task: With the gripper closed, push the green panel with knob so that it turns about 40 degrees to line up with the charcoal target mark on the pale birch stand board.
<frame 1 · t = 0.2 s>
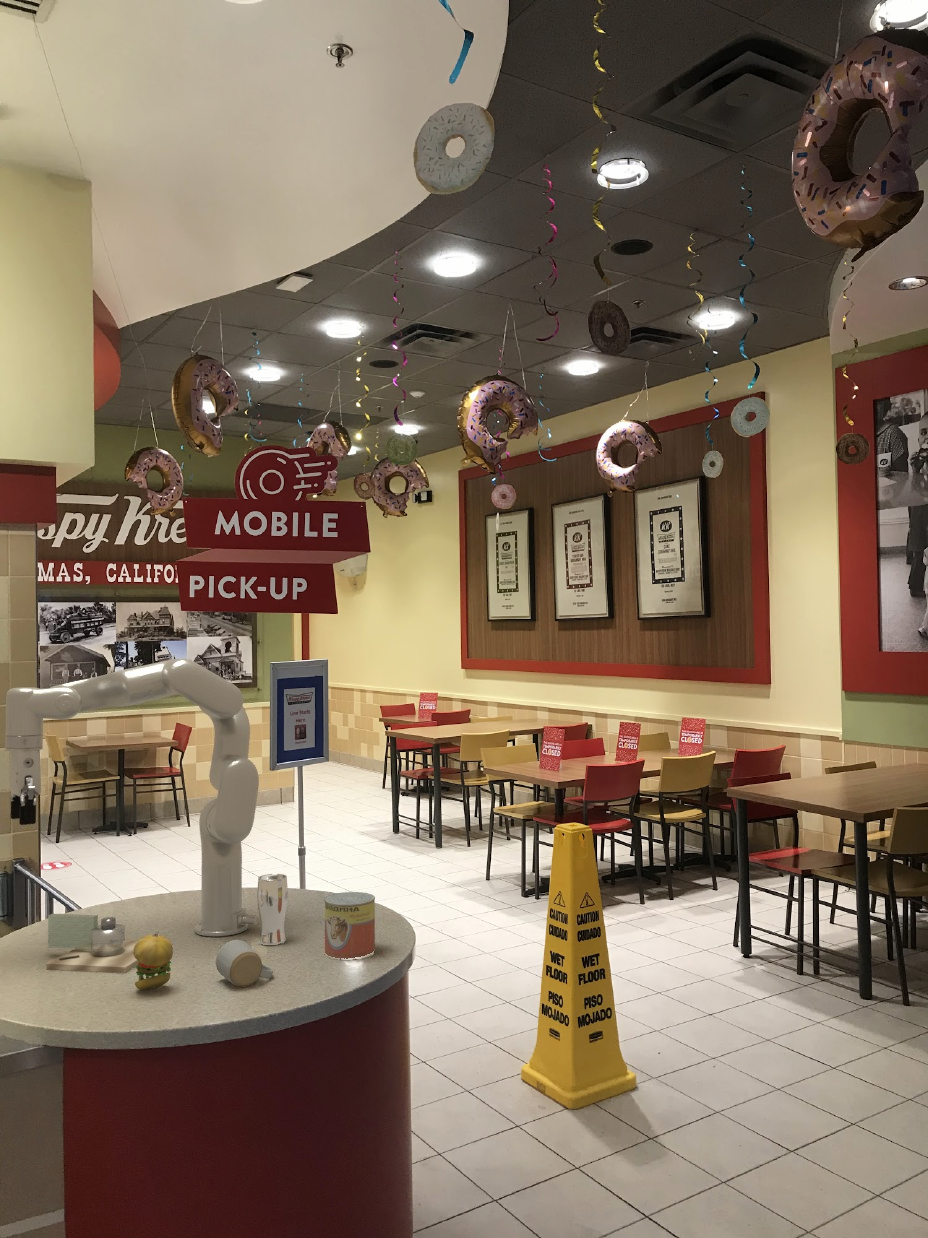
hand: (22, 821, 209), 30 cm above the table, tool pointing down, fingers open, 9 cm apart
ceramic mug: (245, 982, 194), on the table
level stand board: (108, 958, 209), on the table
green panel with knob: (86, 933, 210), point 5 cm above the table, hinge at 0.0°
canned food: (349, 953, 212), on the table
beer glass: (272, 943, 220), on the table
hamburger: (153, 991, 188), on the table
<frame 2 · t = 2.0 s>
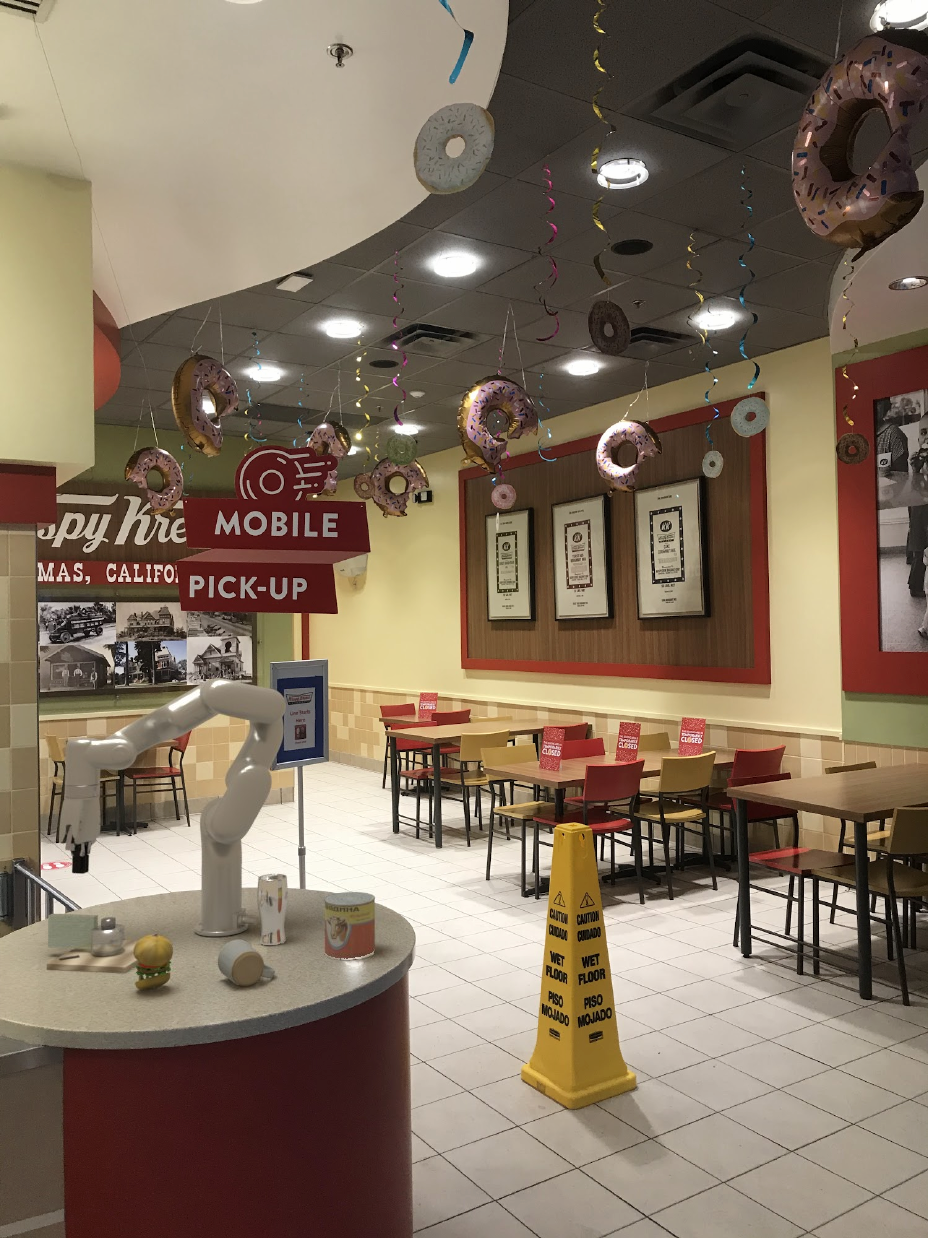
hand: (80, 872, 217), 17 cm above the table, tool pointing down, fingers closed
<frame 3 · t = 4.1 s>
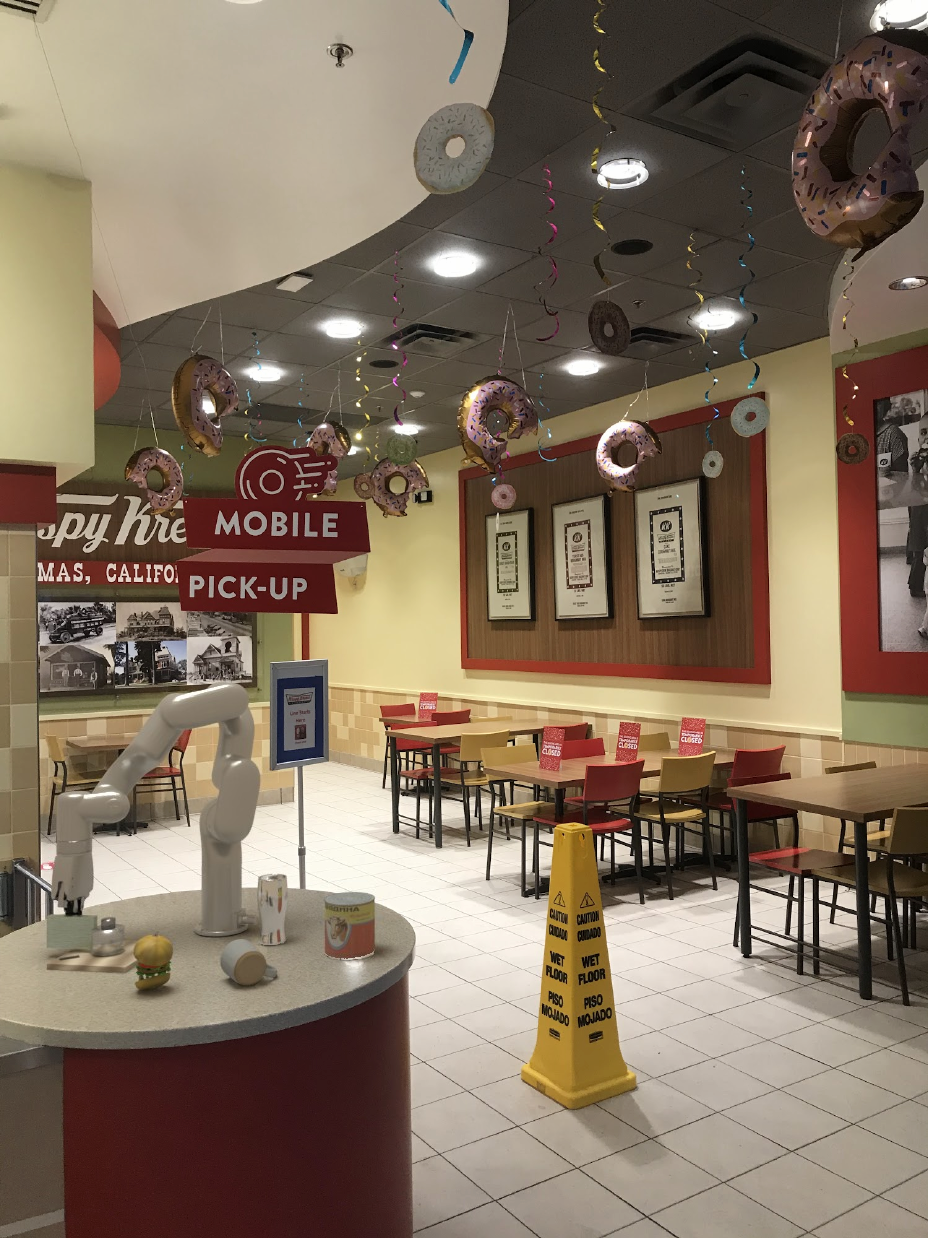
hand: (73, 928, 214), 5 cm above the table, tool pointing down, fingers closed
green panel with knob: (85, 933, 210), point 5 cm above the table, hinge at 2.7°, touching gripper
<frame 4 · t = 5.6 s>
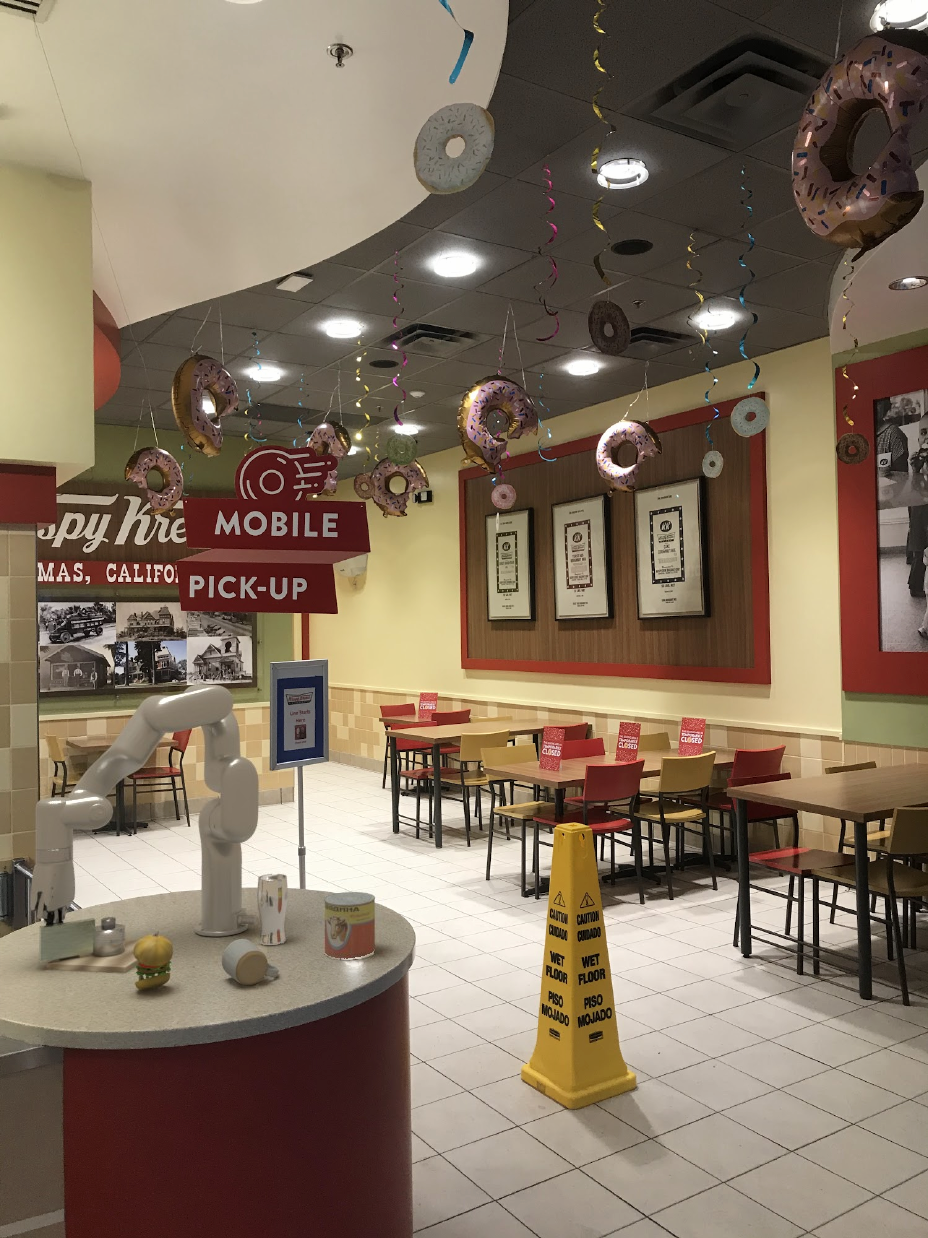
hand: (54, 940, 206), 5 cm above the table, tool pointing down, fingers closed
green panel with knob: (83, 938, 207), point 5 cm above the table, hinge at 43.9°, touching gripper
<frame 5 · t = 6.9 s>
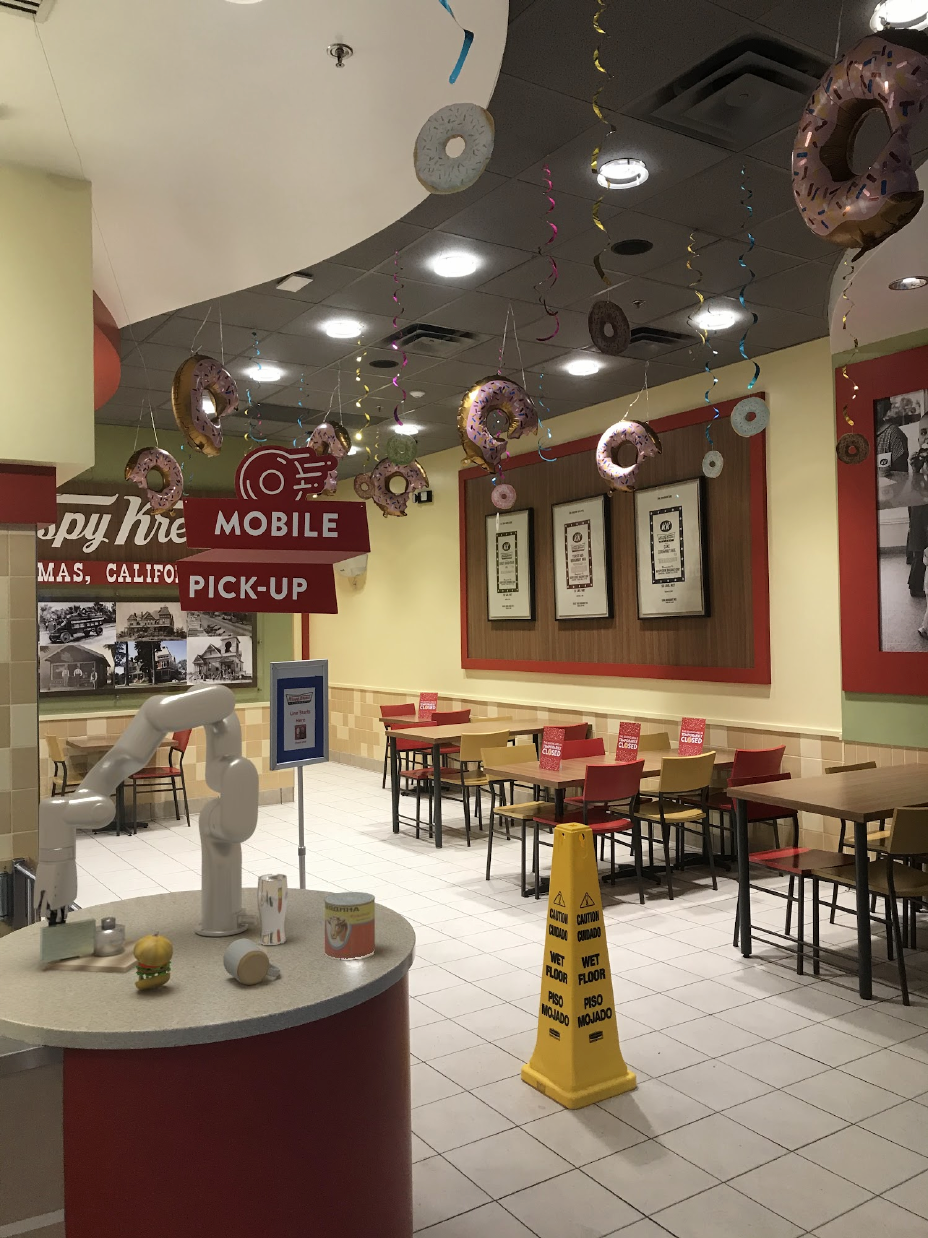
hand: (57, 939, 207), 5 cm above the table, tool pointing down, fingers closed
green panel with knob: (83, 938, 206), point 5 cm above the table, hinge at 47.6°
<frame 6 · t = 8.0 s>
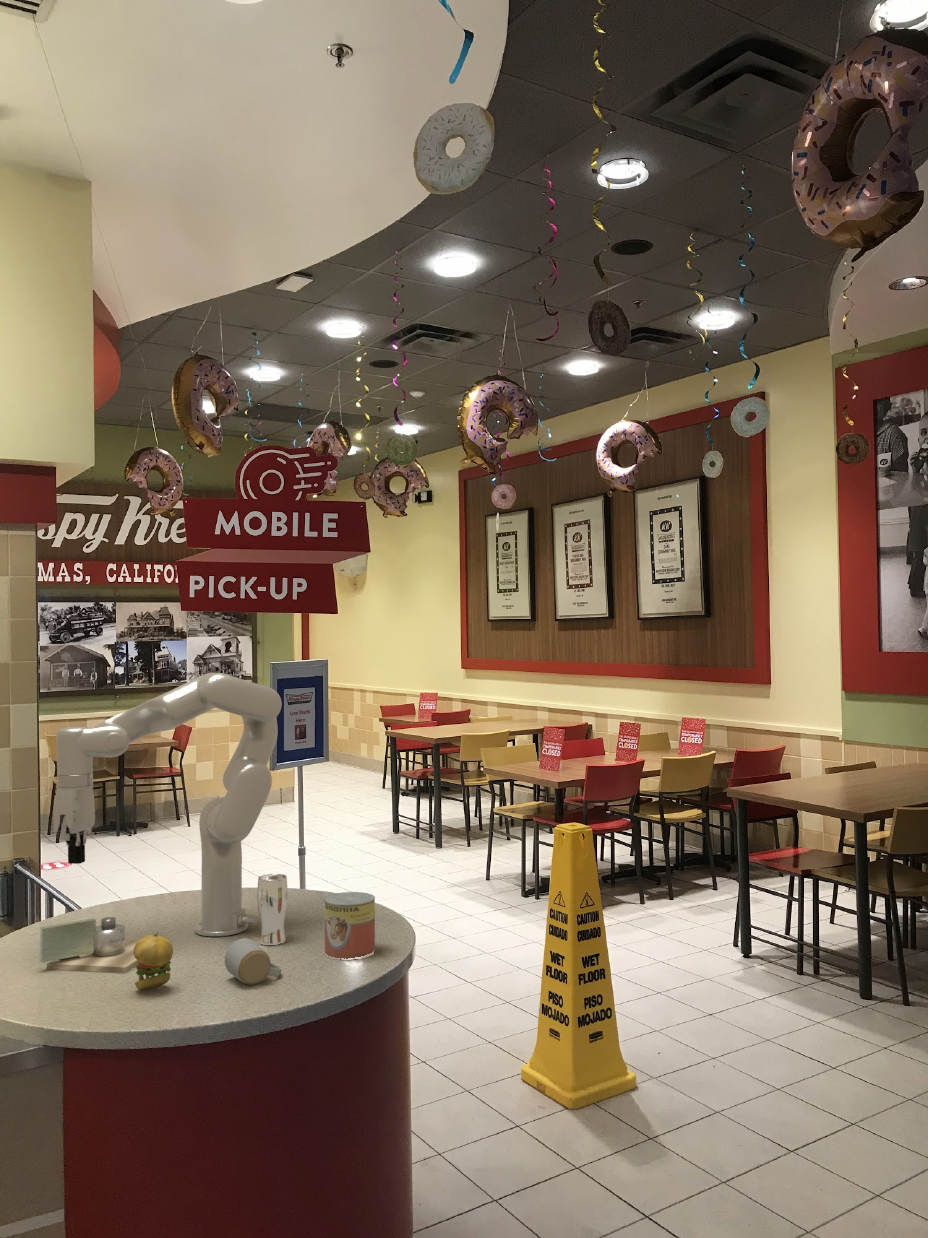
hand: (76, 862, 215), 20 cm above the table, tool pointing down, fingers closed
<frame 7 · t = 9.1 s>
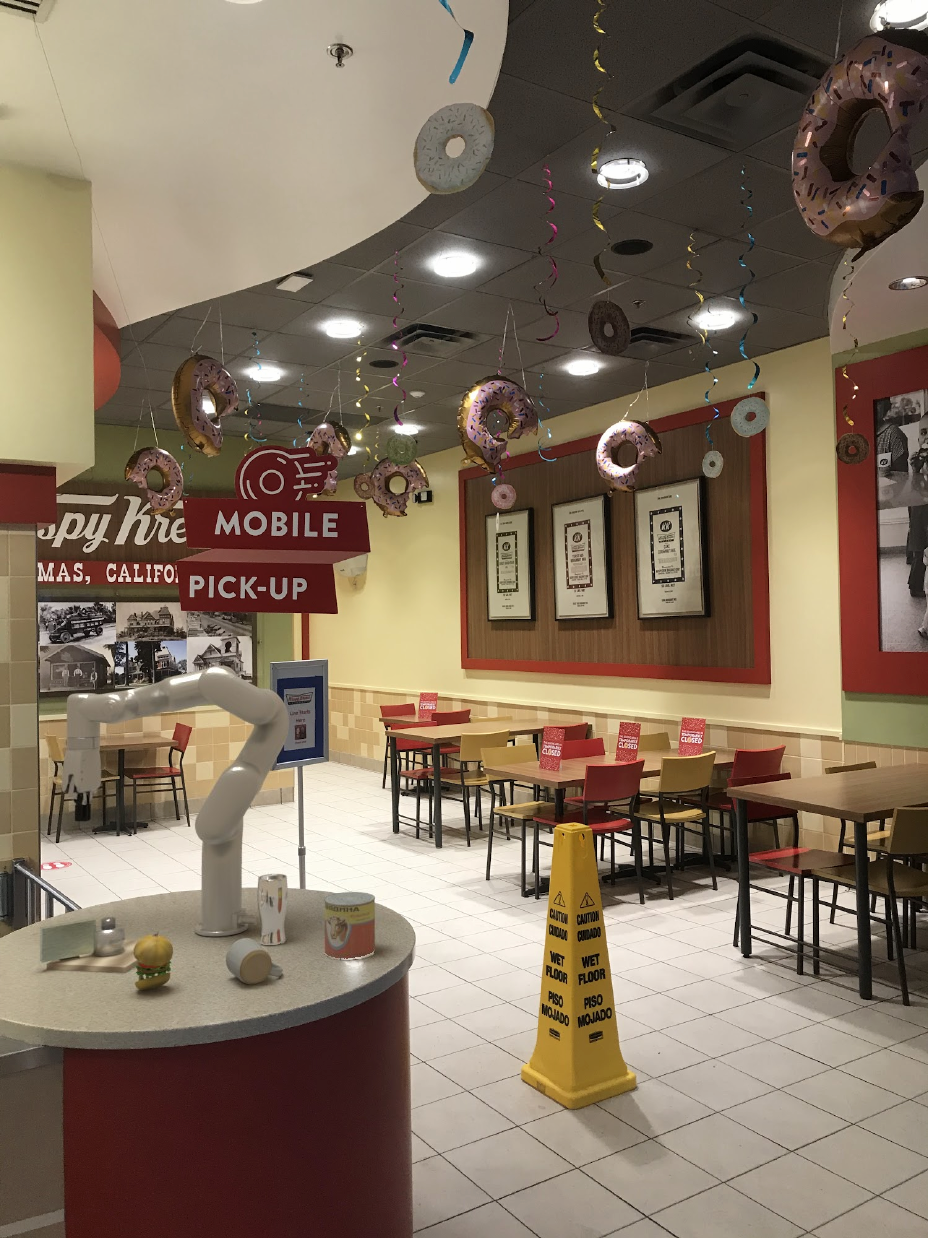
hand: (82, 820, 229), 27 cm above the table, tool pointing down, fingers closed
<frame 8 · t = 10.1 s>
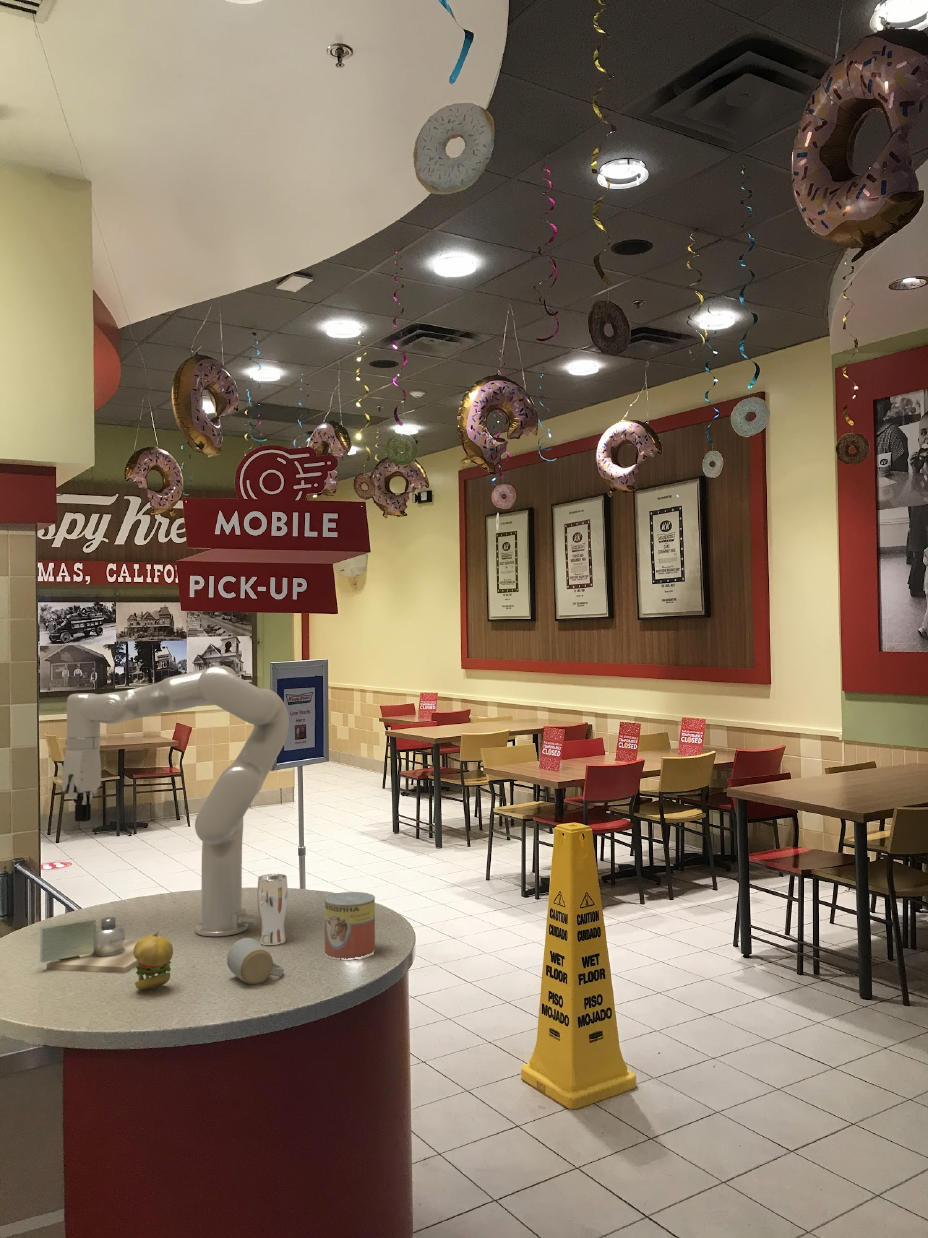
hand: (82, 820, 229), 27 cm above the table, tool pointing down, fingers closed
at the end: green panel with knob at +48° (first picture: +0°); beer glass moved 0.2 cm from its start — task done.
